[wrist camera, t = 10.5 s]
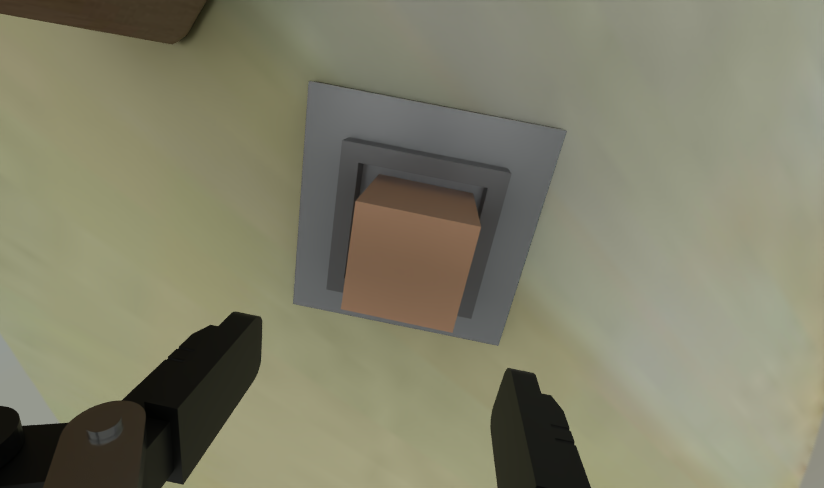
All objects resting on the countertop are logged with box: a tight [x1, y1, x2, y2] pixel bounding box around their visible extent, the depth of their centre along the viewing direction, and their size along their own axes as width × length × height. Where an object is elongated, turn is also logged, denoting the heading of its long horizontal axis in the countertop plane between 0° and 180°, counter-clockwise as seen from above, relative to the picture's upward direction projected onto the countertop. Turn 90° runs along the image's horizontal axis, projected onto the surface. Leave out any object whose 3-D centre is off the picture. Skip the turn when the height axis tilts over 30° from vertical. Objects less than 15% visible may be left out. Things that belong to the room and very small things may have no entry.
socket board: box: [293, 81, 567, 346], centre depth 23 cm, size 14×14×2 cm
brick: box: [341, 174, 481, 333], centre depth 20 cm, size 6×6×6 cm
